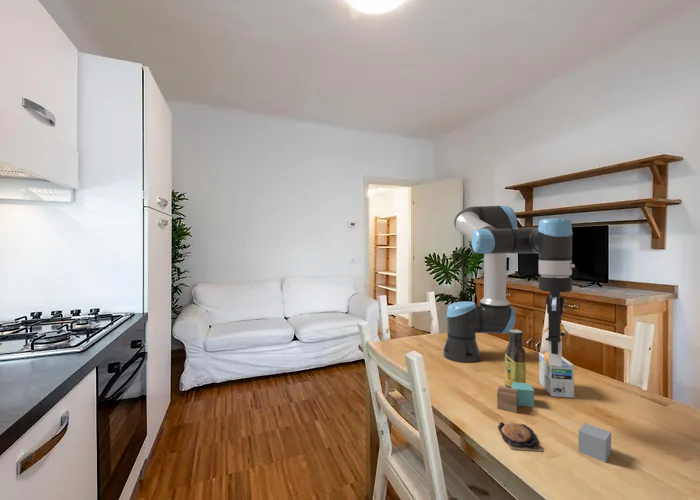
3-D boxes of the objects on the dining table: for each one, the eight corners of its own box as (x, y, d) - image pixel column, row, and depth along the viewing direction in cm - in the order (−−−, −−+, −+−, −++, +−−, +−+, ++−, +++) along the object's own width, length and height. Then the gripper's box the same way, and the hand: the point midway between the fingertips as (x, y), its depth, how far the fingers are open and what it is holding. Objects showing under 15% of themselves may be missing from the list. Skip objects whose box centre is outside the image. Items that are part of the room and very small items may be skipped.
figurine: (535, 360, 90) (531, 320, 88) (553, 355, 90) (550, 315, 89) (559, 374, 81) (555, 330, 80) (579, 368, 82) (575, 325, 81)
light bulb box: (575, 398, 99) (574, 364, 98) (551, 397, 100) (551, 363, 100) (559, 384, 109) (559, 353, 109) (538, 382, 110) (538, 351, 110)
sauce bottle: (503, 384, 109) (503, 327, 109) (524, 386, 107) (523, 328, 107) (506, 392, 103) (505, 332, 103) (527, 395, 101) (527, 333, 101)
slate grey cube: (584, 443, 77) (584, 422, 77) (611, 453, 73) (611, 432, 73) (578, 451, 74) (578, 430, 73) (605, 463, 70) (605, 440, 70)
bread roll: (546, 455, 73) (546, 439, 73) (507, 452, 75) (508, 436, 74) (527, 429, 84) (527, 415, 84) (494, 426, 85) (494, 412, 85)
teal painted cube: (511, 397, 100) (511, 382, 100) (529, 399, 99) (529, 383, 99) (515, 405, 95) (515, 389, 95) (534, 407, 94) (534, 390, 94)
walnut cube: (499, 401, 97) (499, 385, 97) (517, 405, 95) (517, 389, 95) (497, 409, 93) (497, 392, 93) (516, 413, 91) (516, 396, 90)
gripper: (571, 280, 75) (572, 376, 76) (572, 274, 90) (572, 355, 90) (535, 278, 80) (535, 369, 80) (541, 272, 94) (541, 350, 94)
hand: (555, 362), depth 85 cm, fingers closed on figurine, 4 cm apart
